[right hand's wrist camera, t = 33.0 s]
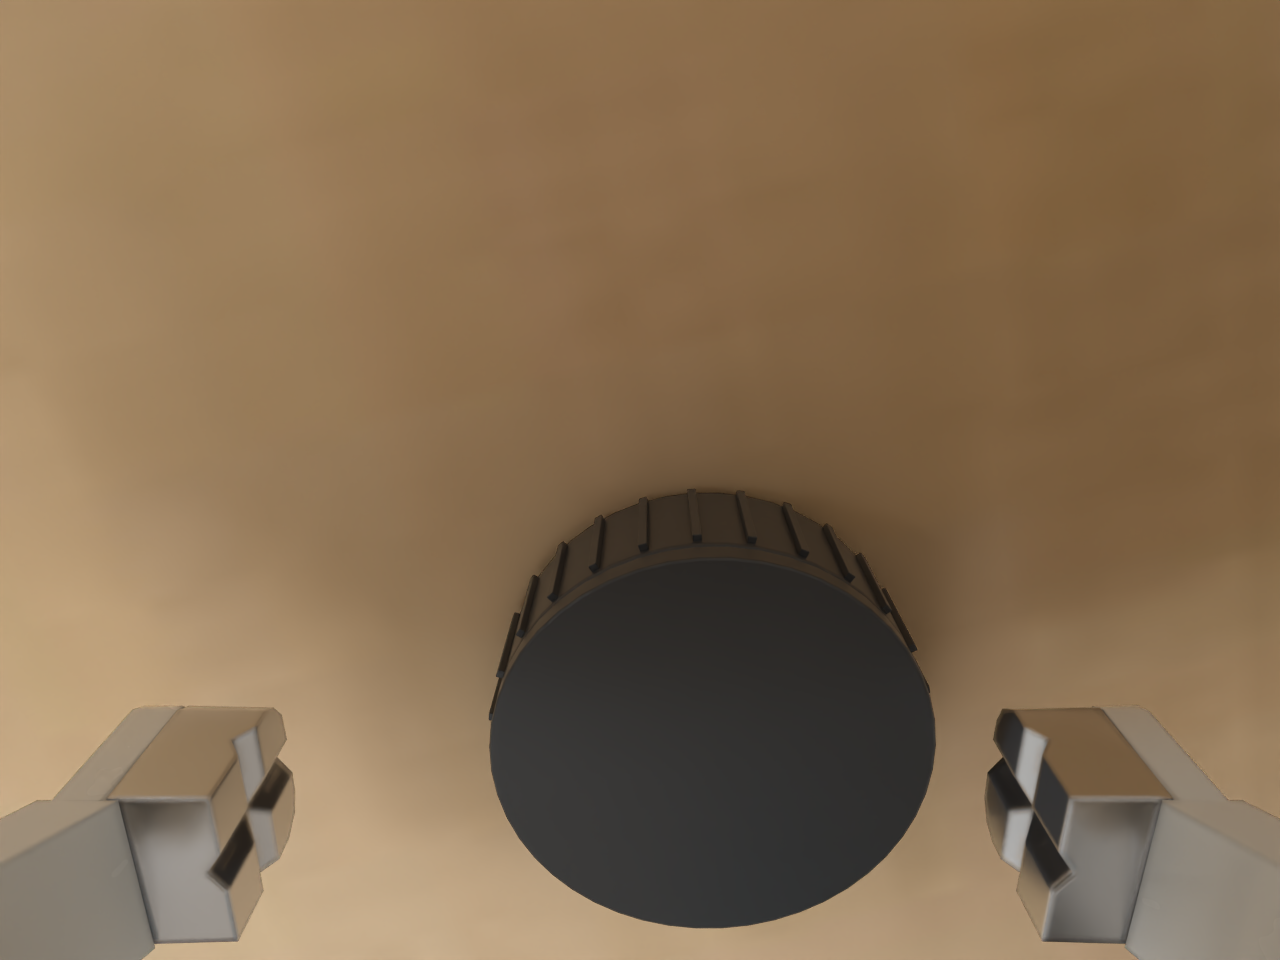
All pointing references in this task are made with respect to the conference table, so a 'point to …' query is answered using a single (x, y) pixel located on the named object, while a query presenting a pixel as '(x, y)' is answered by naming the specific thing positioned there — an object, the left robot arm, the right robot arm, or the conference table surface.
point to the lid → (709, 714)
